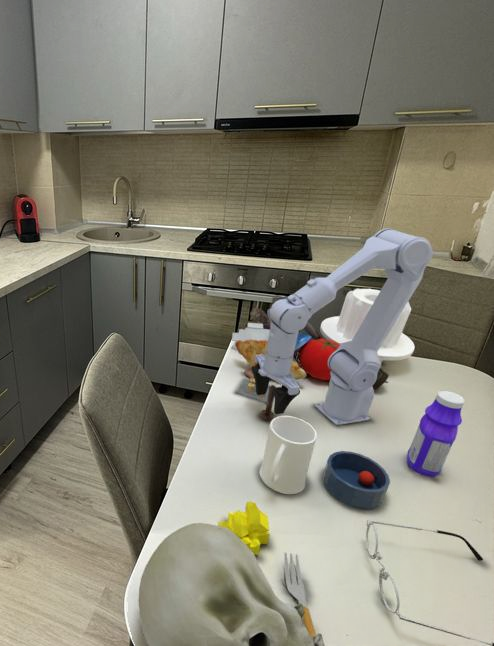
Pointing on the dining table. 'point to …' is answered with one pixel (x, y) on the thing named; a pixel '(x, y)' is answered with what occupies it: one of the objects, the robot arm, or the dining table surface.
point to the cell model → (300, 344)
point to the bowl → (355, 480)
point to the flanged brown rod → (269, 406)
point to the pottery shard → (249, 373)
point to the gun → (312, 331)
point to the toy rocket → (251, 333)
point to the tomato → (317, 357)
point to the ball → (366, 478)
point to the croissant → (259, 347)
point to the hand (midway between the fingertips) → (269, 403)
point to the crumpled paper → (249, 526)
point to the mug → (287, 454)
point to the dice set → (252, 390)
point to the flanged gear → (353, 316)
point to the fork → (298, 592)
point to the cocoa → (380, 379)
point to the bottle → (435, 434)
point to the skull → (214, 595)
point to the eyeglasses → (385, 576)
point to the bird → (263, 318)
